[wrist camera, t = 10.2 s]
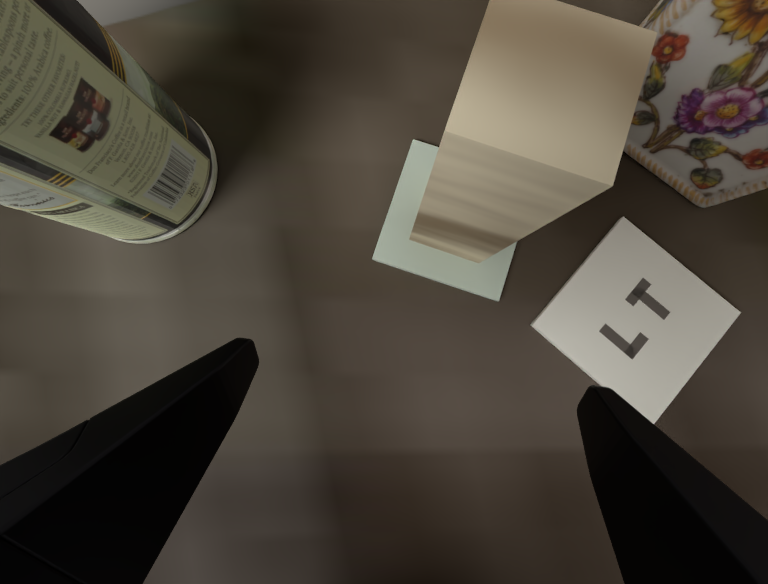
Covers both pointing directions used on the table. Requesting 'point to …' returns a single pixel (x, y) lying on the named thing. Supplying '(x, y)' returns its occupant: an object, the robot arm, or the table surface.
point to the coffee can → (93, 130)
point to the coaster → (423, 258)
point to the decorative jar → (705, 99)
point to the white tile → (636, 319)
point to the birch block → (532, 124)
